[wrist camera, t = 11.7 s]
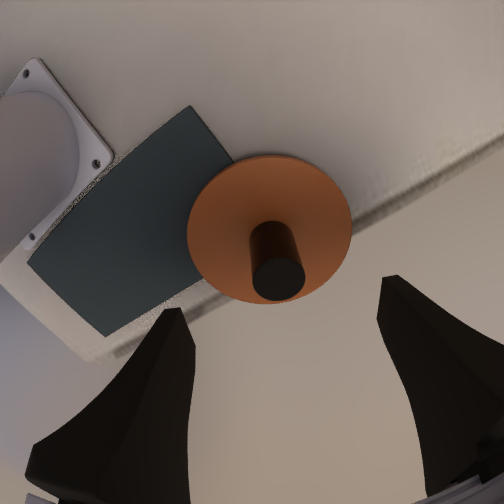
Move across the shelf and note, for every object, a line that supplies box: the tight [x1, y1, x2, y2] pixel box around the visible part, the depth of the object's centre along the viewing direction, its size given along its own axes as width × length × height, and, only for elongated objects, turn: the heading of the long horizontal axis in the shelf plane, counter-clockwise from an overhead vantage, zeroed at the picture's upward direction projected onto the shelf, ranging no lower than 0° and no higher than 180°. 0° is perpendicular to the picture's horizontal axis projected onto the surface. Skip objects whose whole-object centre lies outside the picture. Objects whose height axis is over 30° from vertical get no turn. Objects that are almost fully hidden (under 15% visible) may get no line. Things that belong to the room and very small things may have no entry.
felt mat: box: [27, 105, 234, 337], centre depth 17 cm, size 15×8×1 cm, turn 124°
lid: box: [187, 155, 352, 304], centre depth 15 cm, size 8×8×4 cm
